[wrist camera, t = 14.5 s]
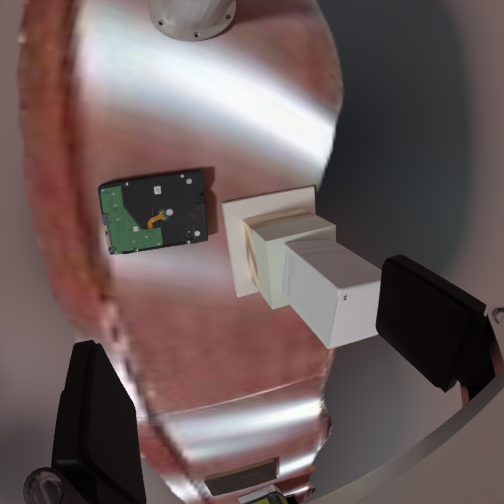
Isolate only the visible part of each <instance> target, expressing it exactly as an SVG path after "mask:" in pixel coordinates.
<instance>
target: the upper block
mask: <svg viewBox="0 0 504 504" xmlns="http://www.w3.org/2000/svg"><path fill="white" fill-rule="evenodd" d="M253 237H254V246H255V254H256V262H257V270H258V279H259V287H260V293H261V294H262V296H263V297H264V298H265V300H266V301H267V303H268V304H269V305H270V307H271V308H272V309H276V308H280V307H283V306H286V305H289V303H288V302H287V301H286V299H285V298H284V297H283V296H282V295H281V294H280V285H281V273H282V261H283V249H284V243H290V242H301V241H313V240H325V239H332V240H333V241H335V242H336V225H334V224H333V223H330V222H329V221H327V220H325V219H323V218H321V217H319V216H312V217H307V218H303V219H298V220H293V221H289V222H284V223H280V224H275V225H270V226H266V227H261V228H257V229H253Z"/></svg>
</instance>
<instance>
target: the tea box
mask: <svg viewBox="0 0 504 504" xmlns="http://www.w3.org/2000/svg"><path fill="white" fill-rule="evenodd" d="M238 499H239V502H240V504H287V502H286V500H285V498H284V496H283V494H282V492H281V490H280V489H279V488H277V487H276V486H275V485H274V484H271V485H269V486H267V487H264V488H262V489H259V490H257V491H255V492H252V493H249V494H247V495H244V496H241V497H239V498H238Z"/></svg>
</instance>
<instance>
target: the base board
mask: <svg viewBox="0 0 504 504" xmlns="http://www.w3.org/2000/svg"><path fill="white" fill-rule="evenodd" d="M221 203H222V210H223V216H224V223H225V229H226V235H227V242H228V248H229V254H230V260H231V267H232V273H233V279H234V285H235V291H236V295H237V297H241V296H245V295H248V294H252V293H256V292H259V290H258V289H257V287H256V286H255V285H254V283H253V282H252V280H251V279H250V276H249V268H248V261H247V254H246V246H245V239H244V231H243V224H242V220H243V219H248V218H253V217H257V216H262V215H267V214H272V213H277V212H282V211H286V210H291V209H296V208H301V207H302V208H304V209H306V210H308V211H309V212H311V213H313V214H315V195H314V187H313V186H308V187H302V188H296V189H290V190H284V191H279V192H273V193H268V194H262V195H257V196H252V197H246V198H241V199H236V200H231V201H226V202H221ZM315 215H316V214H315Z"/></svg>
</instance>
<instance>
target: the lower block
mask: <svg viewBox="0 0 504 504" xmlns="http://www.w3.org/2000/svg"><path fill="white" fill-rule="evenodd" d="M312 216H317V215H315V214H313V213H311V212H309V211H308V210H306V209H304V208H302V207H301V208H296V209H291V210H286V211H282V212H277V213H272V214H267V215H262V216H257V217H253V218H248V219H243V220H242V224H243V231H244V239H245V246H246V254H247V261H248V268H249V276H250V279H251V280H252V282H253V283H254V285H255V286H256V287H257V289H258V290H259V292H260V287H259V279H258V270H257V262H256V254H255V246H254V237H253V229H257V228H261V227H266V226H270V225H275V224H280V223H284V222H289V221H293V220H298V219H303V218H307V217H312Z"/></svg>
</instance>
